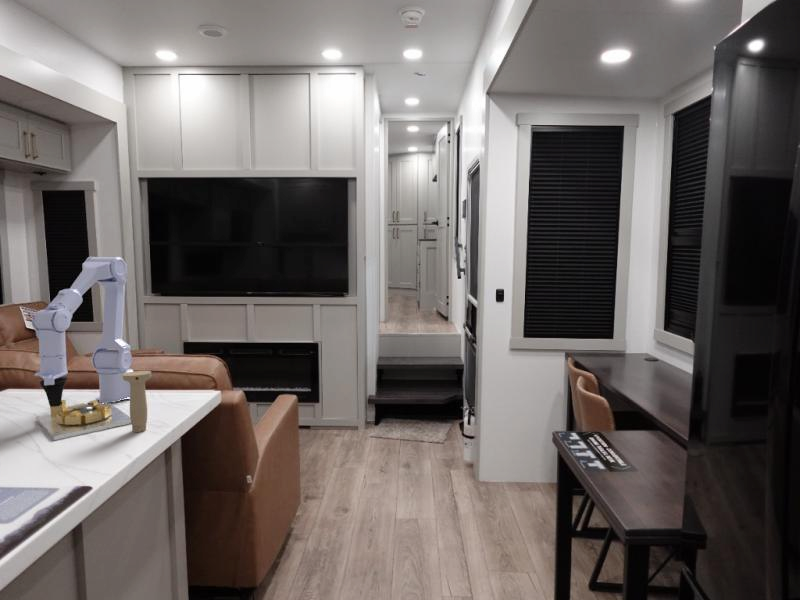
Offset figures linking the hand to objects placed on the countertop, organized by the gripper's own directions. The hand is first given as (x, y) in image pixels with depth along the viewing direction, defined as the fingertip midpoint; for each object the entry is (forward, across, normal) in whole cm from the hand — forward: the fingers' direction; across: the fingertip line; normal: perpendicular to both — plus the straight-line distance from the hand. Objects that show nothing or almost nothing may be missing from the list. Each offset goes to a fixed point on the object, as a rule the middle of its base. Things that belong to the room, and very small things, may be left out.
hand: (55, 406), depth 132 cm
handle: (+5, +14, +20) cm, 25 cm away
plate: (+5, +1, +7) cm, 8 cm away
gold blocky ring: (+4, 0, +6) cm, 7 cm away
